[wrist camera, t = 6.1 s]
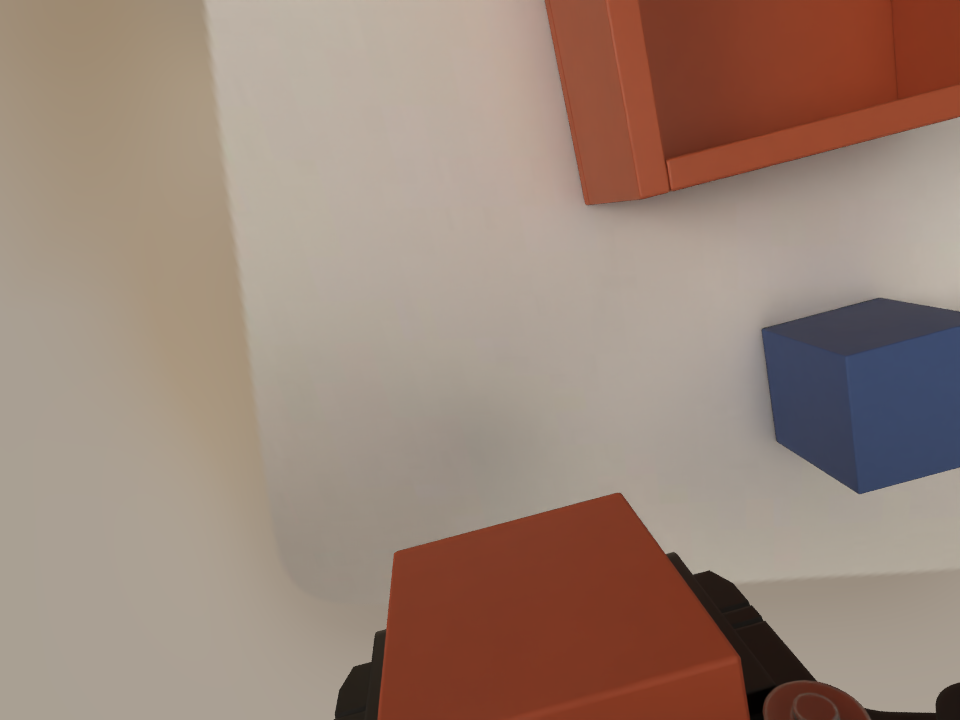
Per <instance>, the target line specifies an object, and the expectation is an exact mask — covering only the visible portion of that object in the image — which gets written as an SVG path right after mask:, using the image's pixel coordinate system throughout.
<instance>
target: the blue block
mask: <svg viewBox="0 0 960 720" xmlns="http://www.w3.org/2000/svg"><path fill="white" fill-rule="evenodd" d="M762 336H763V343H764V351H765V358H766V365H767V373H768V380H769V388H770V395H771V403H772V410H773V418H774V425H775V432H776V440H777V442H779V443H780V444H782V445H783V446H785V447H786V448H788V449H789V450H791V451H793V452H794V453H796V454H797V455H799V456H800V457H802V458H803V459H805V460H807V461H808V462H810V463H811V464H813V465H814V466H816V467H817V468H819V469H821V470H822V471H824V472H825V473H827V474H828V475H830V476H832V477H833V478H835V479H836V480H838V481H839V482H841V483H842V484H844V485H846V486H847V487H849V488H850V489H852V490H853V491H855V492H856V493H858V494H862V493H866V492H870V491H874V490H877V489H881V488H885V487H888V486H892V485H896V484H899V483H903V482H907V481H911V480H914V479H918V478H922V477H925V476H929V475H933V474H937V473H940V472H944V471H948V470H951V469H955V468H959V467H960V312H959V311H953V310H948V309H942V308H936V307H930V306H924V305H918V304H913V303H907V302H901V301H895V300H889V299H883V298H877V299H873V300H870V301H866V302H862V303H858V304H855V305H851V306H847V307H843V308H839V309H836V310H832V311H828V312H824V313H820V314H817V315H813V316H809V317H805V318H801V319H798V320H794V321H790V322H786V323H783V324H779V325H775V326H771V327H767V328H764V329H762Z"/></svg>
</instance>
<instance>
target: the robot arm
mask: <svg viewBox="0 0 960 720" xmlns="http://www.w3.org/2000/svg"><path fill="white" fill-rule="evenodd" d="M666 556H667V557H668V558H669V560H670V561H671V562H672V564H673V565H674V567H675V568H676V569H677V571H678V572H679V574H680V575H681V576H682V578H683V579H684V580H685V582H686V583H687V585H688V586H689V587H690V589H691V590H692V591H693V593H694V594H695V596H696V597H697V598H698V600H699V601H700V602H701V604H702V605H703V607H704V608H705V609H706V611H707V612H708V613H709V615H710V616H711V618H712V619H713V620H714V622H715V623H716V624H717V626H718V627H719V629H720V630H721V631H722V633H723V634H724V635H725V637H726V638H727V640H728V641H729V642H730V644H731V645H732V647H733V648H734V649H735V651H736V652H737V653H738V655H739V656H740V658H741V664H742V671H743V677H744V683H745V690H746V696H747V702H748V709H749V715H750V720H960V683H956V684H953V685H951V686H949V687H947V688H945V689H944V690H943V691H942V692H940V694H939V696H938V697H937V700H936V713H911V712H909V713H908V712H883V711H876V710H870V709H866V708H863V706H862V705H861V704H860V703H859V702H858V701H857V700H855V699H854V698H853V697H851V696H850V695H849V694H847V693H846V692H844V691H842V690H840V689H838V688H836V687H833V686H831V685H828V684H825V683H821V682H817V681H816V680H815V678H814V677H813V676H812V675H811V674H810V673H809V671H808V670H807V669H806V668H805V667H804V666H803V664H802V663H801V662H800V661H799V660H798V659H797V657H796V656H795V655H794V654H793V653H792V652H791V650H790V649H789V648H788V647H787V646H786V645H785V644H784V642H783V641H782V640H781V639H780V638H779V637H778V635H777V634H776V633H775V632H774V631H773V629H772V628H771V627H770V626H769V625H768V624H767V623H766V621H763V619H762V617H761V615H759V613H758V612H757V611H756V610H755V608H753V606H752V605H751V606H750V604H749V602H748V600H747V599H746V598H745V597H744V596H743V594H741V592H740V591H739V590H738V589H737V588H736V586H735V585H734V584H733V583H731V582H730V581H728V580H726V579H724V578H722V577H720V576H719V575H717V574H715V573H713V572H711V571H710V570H709V571H705V572H702V573H698V574H694V575H693V574H692V573H691V572H690V570H689V569H688V568H687V567H686V565H685V564H684V563H683V561H682V560H681V559H680V557H679V556H678V555H677V554H676V553H675V552H672V553H668V554H666ZM385 639H386V629H385V630H382V631H378V632H376V634H375V638H374V646H373V654H372V662H369V663H366V664H362V665H358V666H355V667H353V669H352V670H351V672H350V674H349V675H348V677H347V679H346V680H345V682H344V683H343V685H342V687H341V688H340V690H339V695H338V700H337V705H336V711H335V719H334V720H377V719H378V709H379V699H380V689H381V679H382V669H383V659H384V649H385Z"/></svg>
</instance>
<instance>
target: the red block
mask: <svg viewBox="0 0 960 720" xmlns="http://www.w3.org/2000/svg"><path fill="white" fill-rule="evenodd" d="M377 720H750V715H749V709H748V702H747V696H746V690H745V683H744V677H743V671H742V664H741V658H740V656H739V655H738V653H737V652H736V651H735V649H734V648H733V647H732V645H731V644H730V642H729V641H728V640H727V638H726V637H725V635H724V634H723V633H722V631H721V630H720V629H719V627H718V626H717V624H716V623H715V622H714V620H713V619H712V618H711V616H710V615H709V613H708V612H707V611H706V609H705V608H704V607H703V605H702V604H701V602H700V601H699V600H698V598H697V597H696V596H695V594H694V593H693V591H692V590H691V589H690V587H689V586H688V585H687V583H686V582H685V580H684V579H683V578H682V576H681V575H680V574H679V572H678V571H677V569H676V568H675V567H674V565H673V564H672V562H671V561H670V560H669V558H668V557H667V556H666V554H665V553H664V551H663V550H662V549H661V547H660V546H659V545H658V543H657V542H656V540H655V539H654V538H653V536H652V535H651V534H650V532H649V531H648V529H647V528H646V527H645V525H644V524H643V523H642V521H641V520H640V518H639V517H638V516H637V514H636V513H635V512H634V510H633V509H632V507H631V506H630V505H629V503H628V502H627V501H626V499H625V498H624V496H623V495H622V494H621V493H614V494H611V495H607V496H603V497H599V498H596V499H592V500H588V501H584V502H580V503H577V504H573V505H569V506H565V507H562V508H558V509H554V510H550V511H547V512H543V513H539V514H535V515H532V516H528V517H524V518H520V519H517V520H513V521H509V522H505V523H501V524H498V525H494V526H490V527H486V528H483V529H479V530H475V531H471V532H468V533H464V534H460V535H456V536H453V537H449V538H445V539H441V540H438V541H434V542H430V543H426V544H422V545H419V546H415V547H411V548H407V549H404V550H400V551H397V552H395V553H394V559H393V569H392V579H391V589H390V599H389V609H388V619H387V629H386V639H385V649H384V659H383V669H382V679H381V689H380V699H379V709H378V719H377Z"/></svg>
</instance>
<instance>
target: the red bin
mask: <svg viewBox="0 0 960 720" xmlns="http://www.w3.org/2000/svg"><path fill="white" fill-rule="evenodd" d="M545 4H546V9H547V14H548V19H549V24H550V29H551V34H552V39H553V44H554V49H555V54H556V59H557V64H558V69H559V74H560V79H561V84H562V90H563V95H564V100H565V105H566V110H567V115H568V120H569V125H570V130H571V135H572V140H573V145H574V150H575V155H576V160H577V165H578V170H579V175H580V180H581V185H582V190H583V195H584V200H585V204H586V205H593V204H602V203H612V202H621V201H631V200H640V199H645V198H649V197H653V196H657V195H661V194H665V193H668V192H671V191H676V190H680V189H684V188H688V187H692V186H695V185H699V184H703V183H707V182H711V181H715V180H718V179H722V178H726V177H730V176H734V175H738V174H742V173H745V172H749V171H753V170H757V169H761V168H765V167H769V166H772V165H776V164H780V163H784V162H788V161H792V160H796V159H799V158H803V157H807V156H811V155H815V154H819V153H823V152H826V151H830V150H834V149H838V148H842V147H846V146H850V145H853V144H857V143H861V142H865V141H869V140H873V139H877V138H880V137H884V136H888V135H892V134H896V133H900V132H904V131H907V130H911V129H915V128H919V127H923V126H927V125H930V124H934V123H938V122H942V121H946V120H950V119H954V118H957V117H960V0H545Z"/></svg>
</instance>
